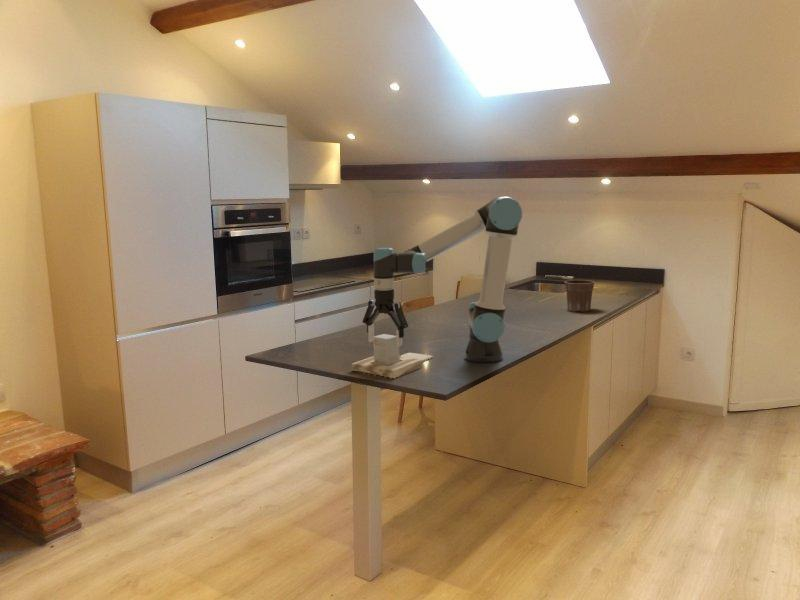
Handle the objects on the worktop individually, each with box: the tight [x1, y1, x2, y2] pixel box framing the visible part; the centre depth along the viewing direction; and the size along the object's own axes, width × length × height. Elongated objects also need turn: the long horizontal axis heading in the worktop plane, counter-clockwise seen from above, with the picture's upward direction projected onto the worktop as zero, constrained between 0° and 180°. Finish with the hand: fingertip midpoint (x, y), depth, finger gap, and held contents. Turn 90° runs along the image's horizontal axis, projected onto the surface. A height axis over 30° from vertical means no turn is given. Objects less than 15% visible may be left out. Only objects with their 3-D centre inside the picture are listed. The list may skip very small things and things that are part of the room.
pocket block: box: [351, 355, 423, 379], centre depth 241 cm, size 20×18×3 cm
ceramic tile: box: [400, 352, 434, 363], centre depth 255 cm, size 12×10×1 cm
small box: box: [372, 333, 400, 366], centre depth 240 cm, size 8×6×13 cm
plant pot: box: [564, 279, 596, 313], centre depth 347 cm, size 16×16×16 cm
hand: (385, 343), depth 240 cm, fingers open, 13 cm apart
